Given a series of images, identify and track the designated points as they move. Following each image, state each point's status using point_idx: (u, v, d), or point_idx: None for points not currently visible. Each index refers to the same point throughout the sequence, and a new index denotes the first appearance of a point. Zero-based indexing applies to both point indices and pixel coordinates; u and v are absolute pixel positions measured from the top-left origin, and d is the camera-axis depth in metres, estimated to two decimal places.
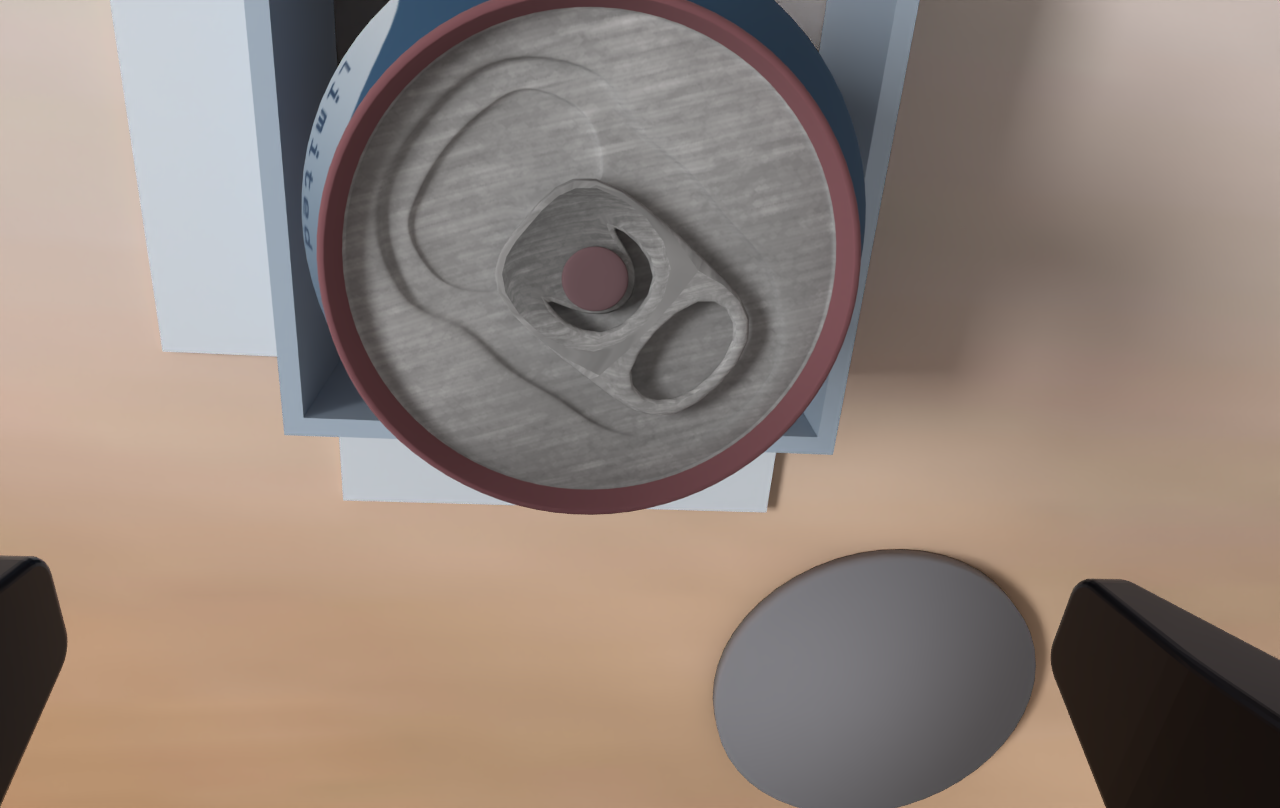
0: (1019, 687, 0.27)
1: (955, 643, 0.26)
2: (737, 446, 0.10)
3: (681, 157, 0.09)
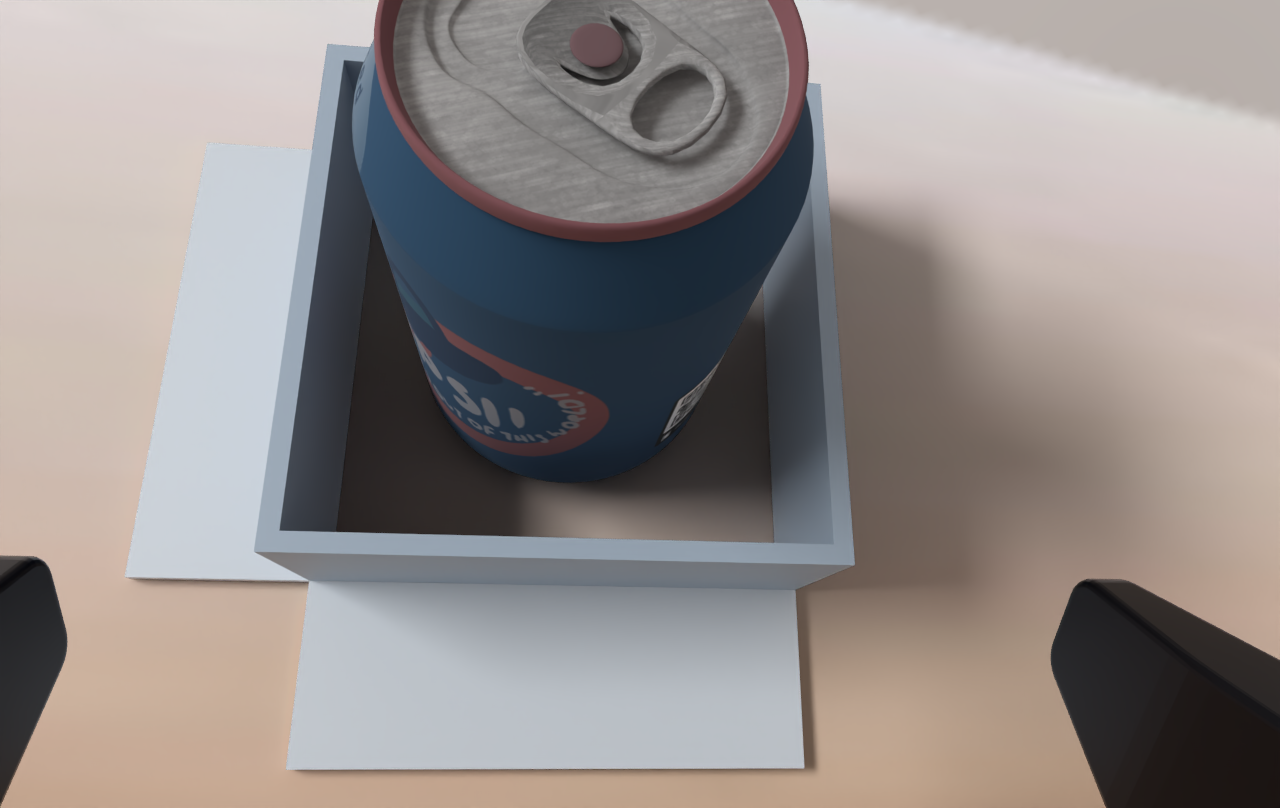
0: None
1: None
2: (733, 185, 0.11)
3: None
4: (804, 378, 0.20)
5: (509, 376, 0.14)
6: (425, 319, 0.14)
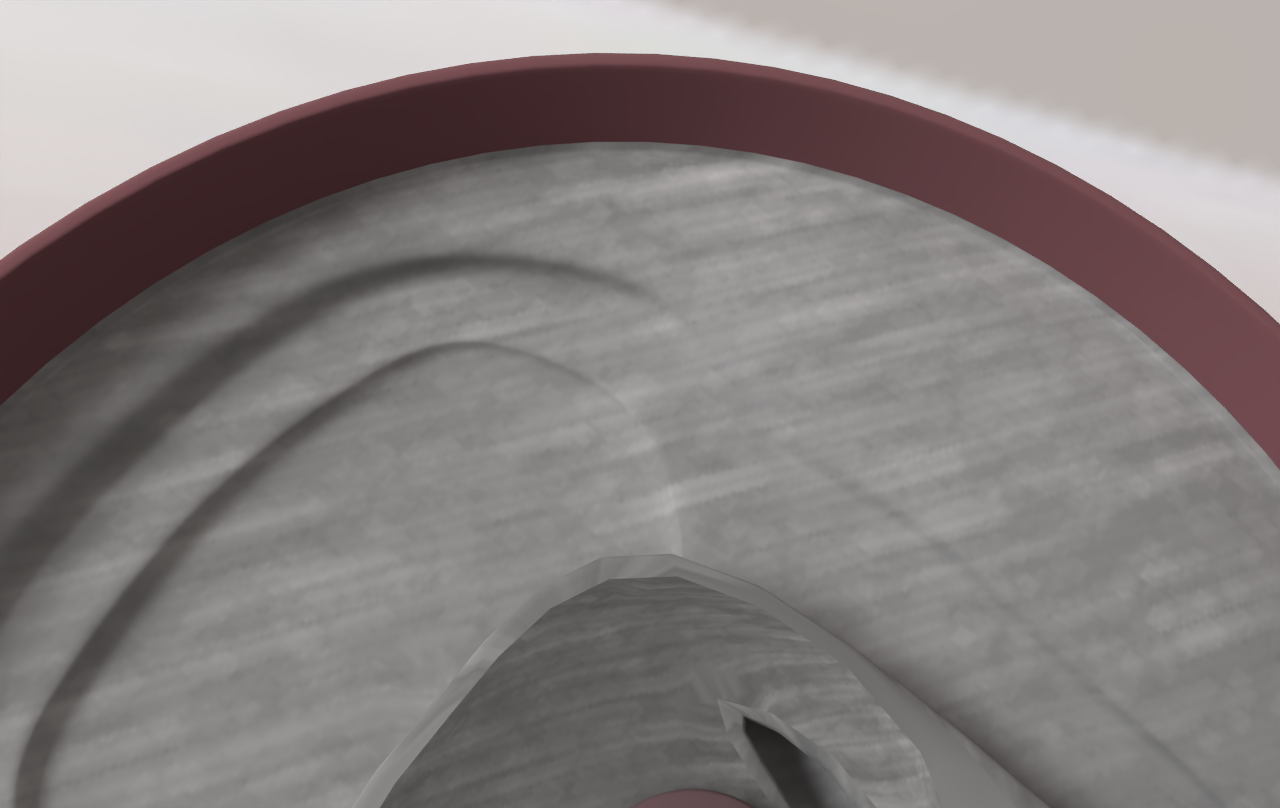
0: None
1: None
2: None
3: (910, 494, 0.03)
4: None
5: None
6: None
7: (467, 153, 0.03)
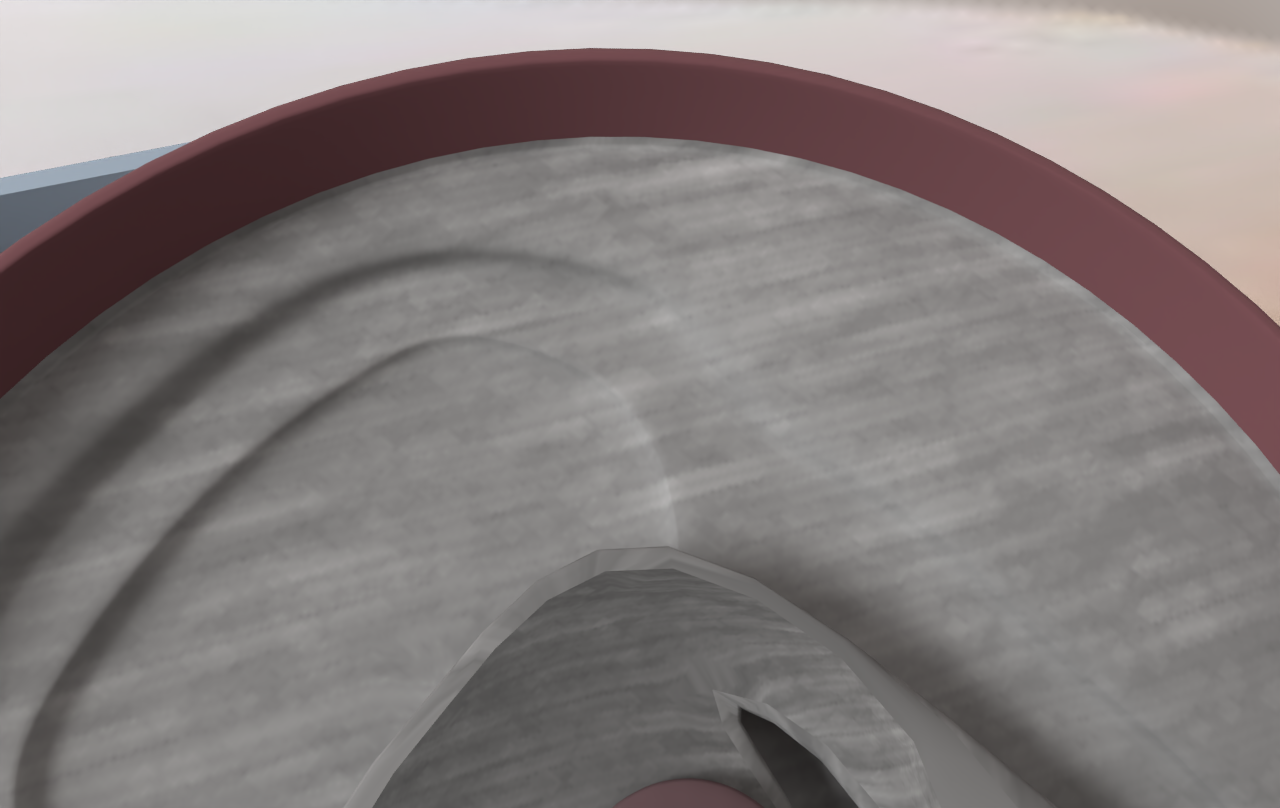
0: None
1: None
2: None
3: (902, 487, 0.03)
4: None
5: None
6: None
7: (463, 148, 0.03)
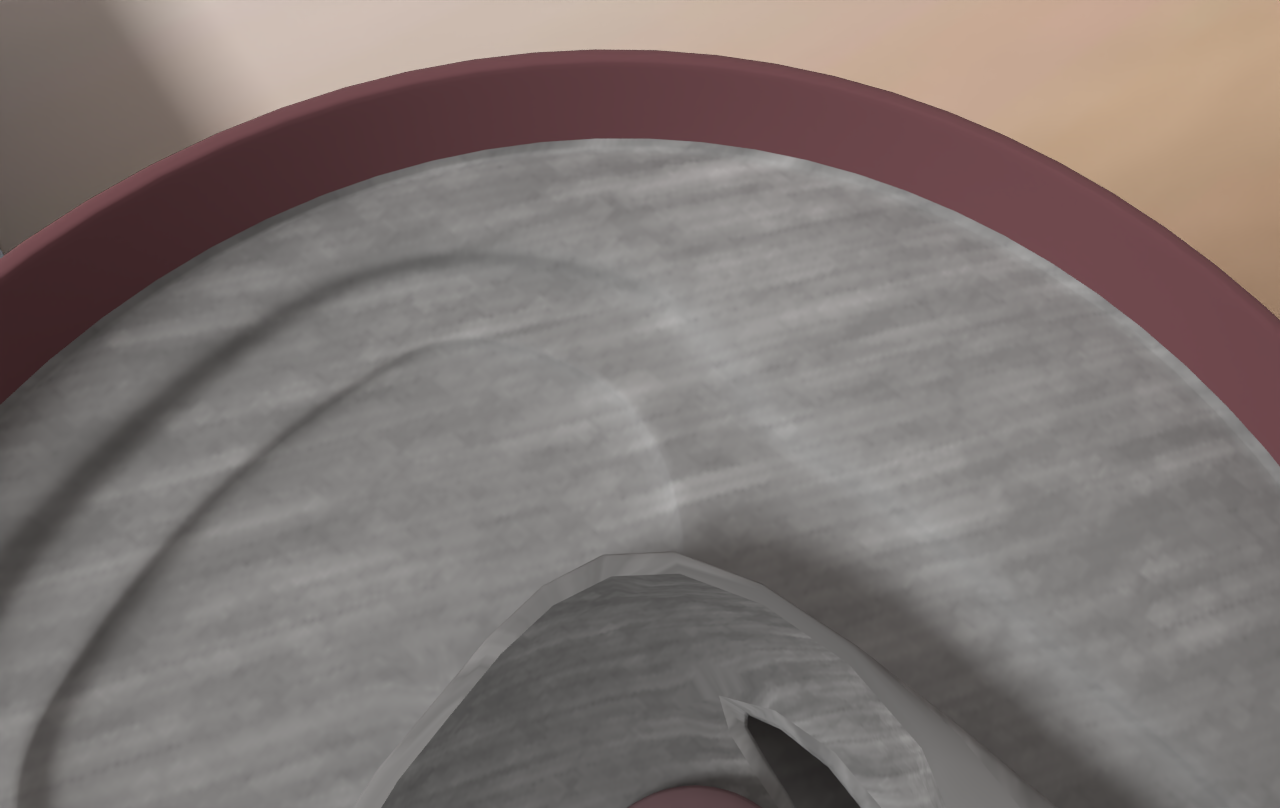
0: None
1: None
2: None
3: (910, 491, 0.03)
4: None
5: None
6: None
7: (468, 150, 0.03)
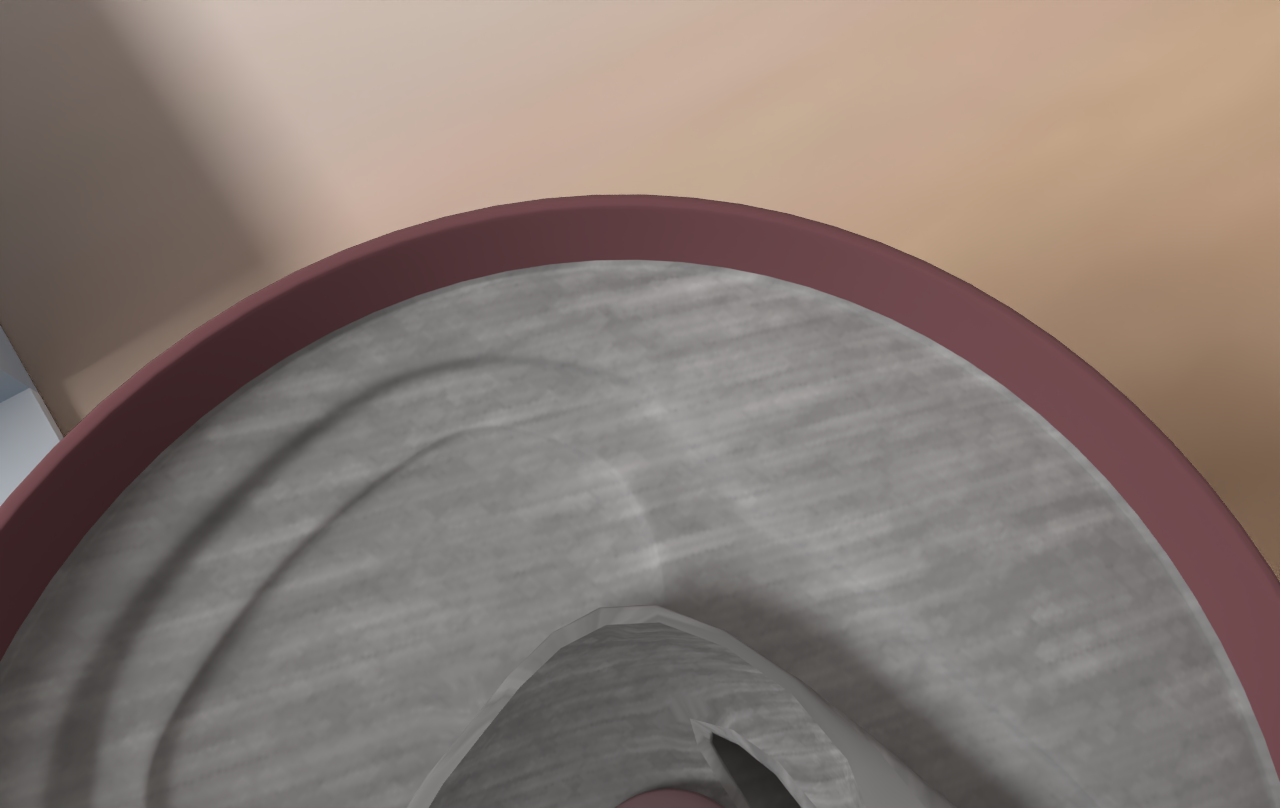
0: None
1: None
2: None
3: (845, 551, 0.04)
4: None
5: None
6: None
7: (491, 273, 0.04)
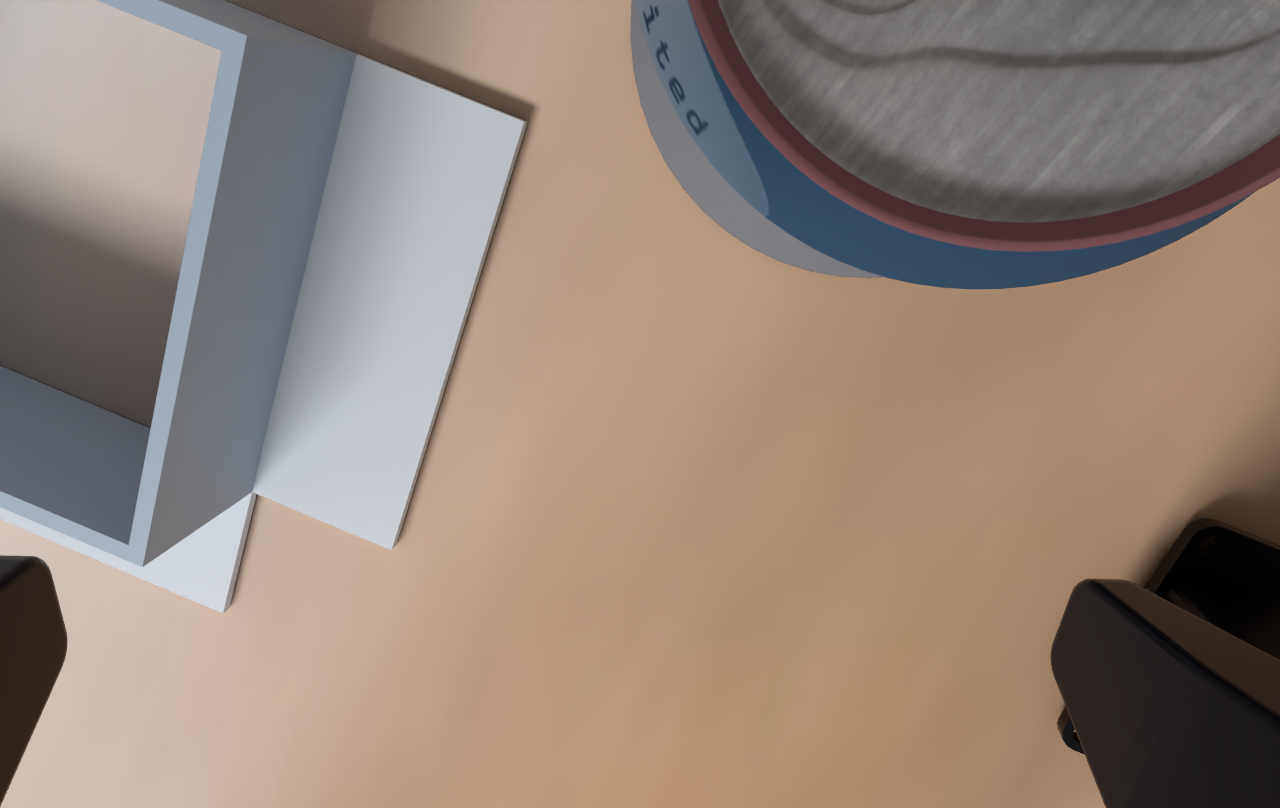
0: None
1: None
2: None
3: None
4: None
5: None
6: None
7: None
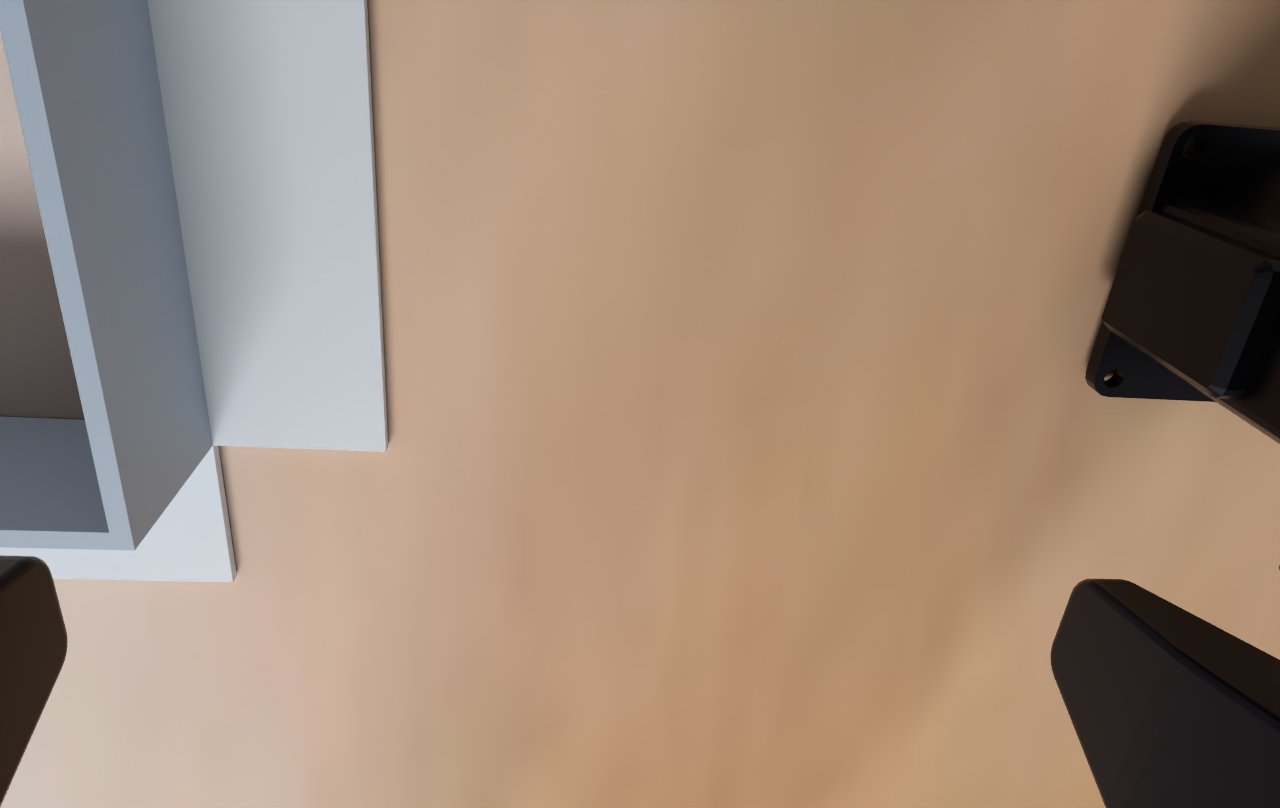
0: None
1: None
2: None
3: None
4: None
5: None
6: None
7: None
